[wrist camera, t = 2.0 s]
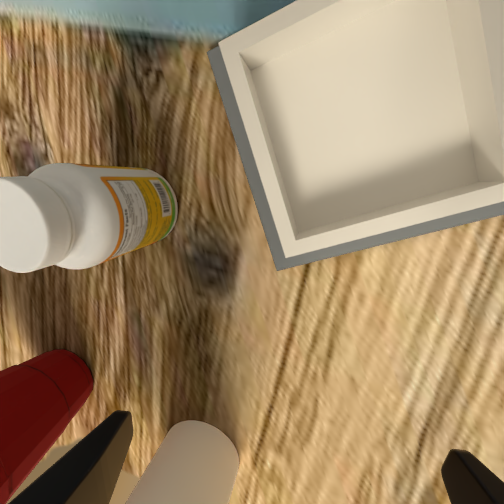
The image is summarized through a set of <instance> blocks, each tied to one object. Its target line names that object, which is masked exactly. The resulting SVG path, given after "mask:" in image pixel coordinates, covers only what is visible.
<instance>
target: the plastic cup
mask: <svg viewBox="0 0 504 504" xmlns="http://www.w3.org/2000/svg"><path fill="white" fill-rule="evenodd" d="M92 390H93V378H92V375H91V372H90V370H89V368H88V367H87V365H86V364H85V363H84V361H83V360H82V359H81V358H79V357H78V356H77V355H75V354H74V353H72V352H70V351H67V350H64V349H55V350H52V351H50V352H45V353H43V354H41V355H39V356H36V357H34V358H32V359H30V360H28V361H25V362H23V363H21V364H19V365H14V366H11V367H9V368H7V369H4V370H2V371H0V504H6V503H7V501H8V500H9V499H10V498H11V496H12V495H13V494H14V493H15V491H16V490H17V489H18V488H19V486H20V485H21V484H22V483H23V481H24V480H25V479H26V477H27V476H28V475H29V474H30V473H31V471H32V470H33V469H34V468H35V466H36V465H37V464H38V463H39V461H40V460H41V459H42V458H43V456H44V455H45V454H46V453H47V451H48V450H49V449H50V448H51V446H52V445H53V444H54V443H55V441H56V440H57V439H58V438H59V436H60V435H61V434H62V433H63V431H64V430H65V428H66V427H67V425H68V423H69V422H70V421H71V419H72V418H73V417H74V416H75V414H76V413H77V412H78V411H79V409H80V408H81V407H82V406H83V404H84V403H85V402H86V400H87V398H88V397H89V395H90V393H91V392H92Z"/></svg>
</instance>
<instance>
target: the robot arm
mask: <svg viewBox="0 0 504 504" xmlns="http://www.w3.org/2000/svg"><path fill="white" fill-rule="evenodd" d="M132 437H133V425H132V415H131V413H130V412H129V411H121V410H117V411H115V412H113V413H112V414H111V415H110V416H109V417H108V418H106V419H105V420H104V421H103V422H102V423H101V424H99V425H98V426H97V427H96V428H95V429H94V430H93V431H91V432H90V433H89V434H88V435H87V436H86V437H84V438H83V439H82V440H81V441H80V442H79V443H78V444H76V445H75V446H74V447H73V448H72V449H71V450H69V451H68V452H67V453H66V454H65V455H64V456H63V457H61V458H60V459H59V460H58V461H57V462H56V463H55V464H53V466H51V467H50V468H49V469H48V470H46V471H45V472H44V473H43V474H42V475H41V476H40V477H38V478H37V479H36V480H35V481H34V482H33V483H31V484H30V485H29V486H28V487H27V488H26V489H25V490H23V491H22V492H21V493H20V494H19V495H18V496H17V497H16V498H14V499H13V500H12V501H11V502H10V503H8V504H109V502H110V499H111V496H112V494H113V491H114V488H115V485H116V482H117V480H118V477H119V474H120V471H121V469H122V466H123V463H124V460H125V457H126V455H127V452H128V449H129V446H130V443H131V440H132ZM441 473H442V478H443V481H444V484H445V487H446V490H447V493H448V496H449V499H450V502H451V504H504V482H503V481H501V480H500V479H499V478H498V477H497V476H496V475H495V474H494V473H493V472H491V471H490V470H489V469H488V468H487V467H486V466H485V465H484V464H483V463H481V462H480V461H479V460H478V459H477V458H476V457H475V456H474V455H473V454H471V453H470V452H468V451H466V450H459V449H452V450H450V451H449V453H448V455H447V457H446V459H445V461H444V463H443V465H442V469H441Z"/></svg>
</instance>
